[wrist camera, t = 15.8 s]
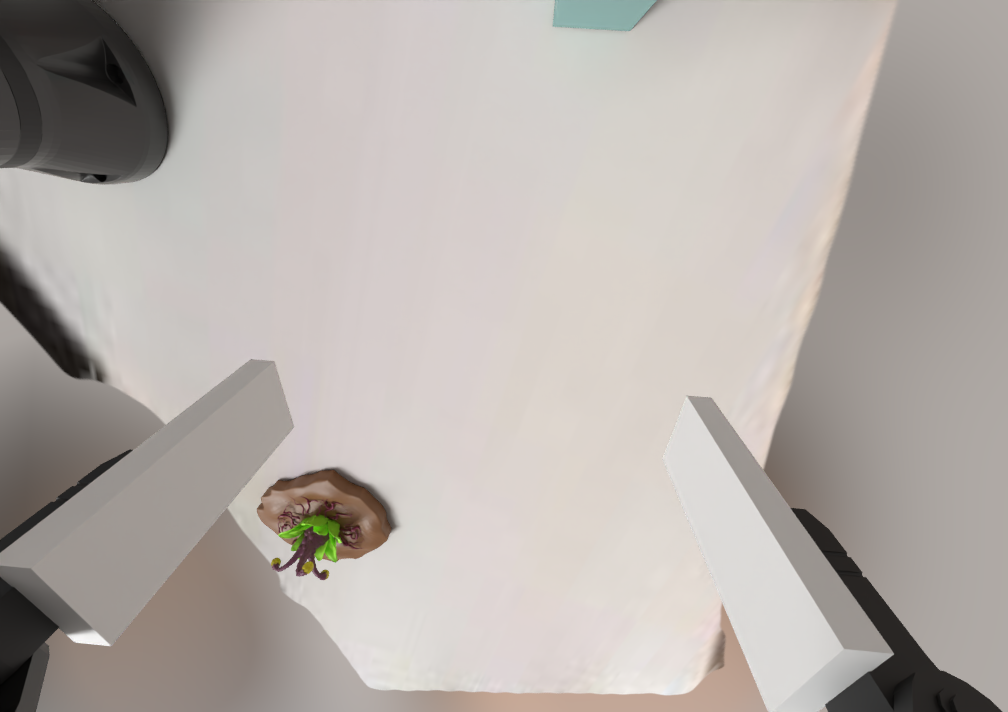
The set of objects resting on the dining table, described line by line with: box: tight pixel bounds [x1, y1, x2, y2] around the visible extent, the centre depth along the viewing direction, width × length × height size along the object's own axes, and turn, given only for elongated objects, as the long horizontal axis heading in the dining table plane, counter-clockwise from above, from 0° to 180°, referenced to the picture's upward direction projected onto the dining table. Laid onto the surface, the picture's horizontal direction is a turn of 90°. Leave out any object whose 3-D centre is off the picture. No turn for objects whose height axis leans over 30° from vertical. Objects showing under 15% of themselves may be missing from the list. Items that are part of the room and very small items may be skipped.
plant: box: [257, 470, 391, 580], centre depth 57 cm, size 20×20×11 cm
